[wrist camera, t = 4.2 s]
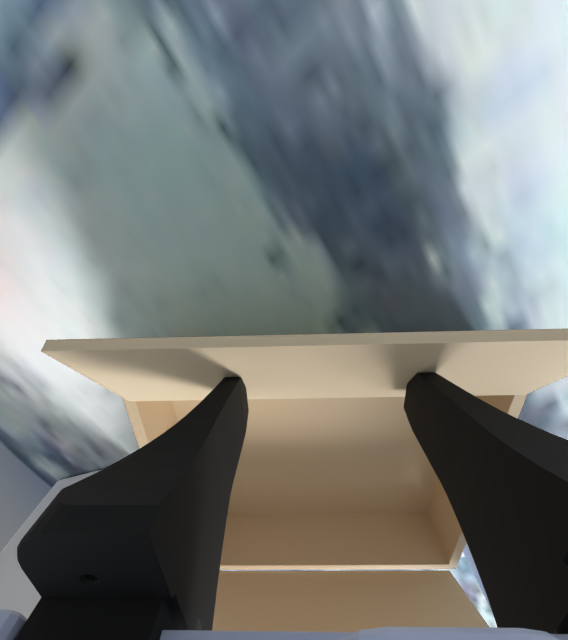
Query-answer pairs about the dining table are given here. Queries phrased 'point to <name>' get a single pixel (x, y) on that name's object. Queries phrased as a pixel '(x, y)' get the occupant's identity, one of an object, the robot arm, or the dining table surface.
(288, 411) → the carton
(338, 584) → the back flap
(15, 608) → the milk carton
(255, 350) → the front flap
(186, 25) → the dining table surface
